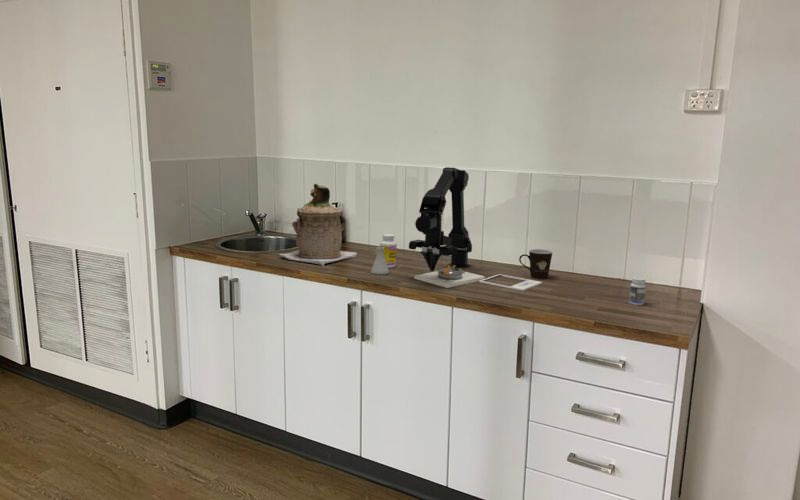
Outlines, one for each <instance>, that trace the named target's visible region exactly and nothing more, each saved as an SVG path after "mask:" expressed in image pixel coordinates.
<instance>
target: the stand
mask: <svg viewBox="0 0 800 500" xmlns="http://www.w3.org/2000/svg"><path fill="white" fill-rule="evenodd" d="M459 269H460V270H462V268H459ZM413 277H414V278H413V279H414V280H418V281H421V282H426V283H429V284H432V285H434V286H435V285H436V286H438V287H442V288H445V289H446V288H447V289H449V288H452V287H453V288H454V287H458V286H462V285H466V284H471V283H476V282H479V281H480V280H483V279H486V277H485V275H480V274H476V273H472V272H469V271H464V270H462V278H460V279H443V278H439V277H438V270H434V271H430V272H426V273H425V272H424V273H421V274H416V275H413Z"/></svg>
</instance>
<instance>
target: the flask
mask: <svg viewBox="0 0 800 500" xmlns="http://www.w3.org/2000/svg"><path fill="white" fill-rule="evenodd" d="M375 256H376V257H375V260H374V263H373V266H372V268H371V271H370V273H371V274H373V275H388V274H390V271H389V268H387V265H386V261H385V258H384V247H380V246H377V247H376V255H375Z"/></svg>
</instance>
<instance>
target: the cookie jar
mask: <svg viewBox="0 0 800 500" xmlns="http://www.w3.org/2000/svg"><path fill="white" fill-rule="evenodd" d="M330 194H331V191H330V189H329V187H327V186H324V185H320V184H318V183H314V184H313V188H312V189H311V190H310V196H311V197H312V199H311V200H310V201H309V202H307V203H305V204H304V206H302V207H301V206H299V207H298V208H297V211H296V215H297V217H298V218H296V220H295V221H293V222H292V223H291V226H292V228H293V230H294V232H295V233H296V236H295V238H296V240H295V245H296V246H297V248H298V250H295V251H292V252H287V253H279V254H278V255H279V256H280V257H281V258H285V259H286V260H289V261H295V262H296V261H297V262H303V263H304V262H305V263H310V264H314V265H315V264H316V265H321V266H323V267H324V266H325V264H328V263H329V264H330V263H335V262H337V261H342V260H346V259H353V258H356V257H357V254H358V253H357V252H355V251H343V250H341V248H342V242H343V241H342V240H343V235H342V231H343V230H342V225H341V224H342V223H341V217H340V216H341V215H342V213H343V210H342V209H340V208H336V207H335V206H332V205H331V204H330V203H329V202H330V199H331V198H330V197H331V195H330Z"/></svg>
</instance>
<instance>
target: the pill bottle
mask: <svg viewBox="0 0 800 500" xmlns="http://www.w3.org/2000/svg"><path fill="white" fill-rule="evenodd" d="M646 291H647V286H646V278H643V277H640V276H632V279H631V283H630V286H629V296H628V297H629V299H628V303H630V304H631V305H634V306H635V305H636V306H643V305H644V304H645V299H646Z"/></svg>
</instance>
